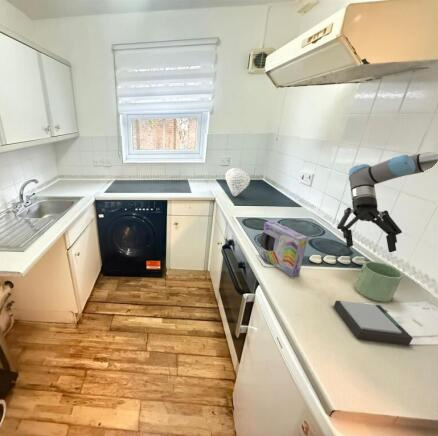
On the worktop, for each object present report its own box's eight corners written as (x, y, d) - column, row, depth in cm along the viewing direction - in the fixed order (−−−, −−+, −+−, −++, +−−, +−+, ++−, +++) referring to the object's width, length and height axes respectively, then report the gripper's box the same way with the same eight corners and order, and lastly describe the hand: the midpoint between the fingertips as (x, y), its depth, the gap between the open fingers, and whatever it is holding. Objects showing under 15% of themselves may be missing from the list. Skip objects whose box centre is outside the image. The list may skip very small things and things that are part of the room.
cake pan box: (256, 254, 113) (263, 220, 106) (265, 252, 114) (272, 219, 108) (290, 277, 96) (300, 239, 89) (299, 275, 98) (310, 237, 91)
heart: (221, 191, 212) (224, 166, 203) (239, 191, 210) (243, 166, 202) (228, 201, 186) (232, 173, 177) (249, 201, 185) (254, 173, 176)
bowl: (386, 290, 89) (398, 266, 85) (394, 307, 81) (407, 282, 77) (352, 281, 94) (361, 258, 90) (356, 295, 86) (366, 271, 82)
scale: (376, 312, 79) (380, 303, 78) (408, 345, 67) (414, 336, 66) (333, 307, 81) (336, 298, 80) (357, 339, 69) (361, 329, 68)
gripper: (393, 206, 98) (403, 255, 91) (324, 201, 105) (328, 246, 97) (408, 197, 92) (419, 250, 84) (333, 192, 98) (338, 241, 90)
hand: (370, 248), depth 91 cm, fingers open, 13 cm apart
